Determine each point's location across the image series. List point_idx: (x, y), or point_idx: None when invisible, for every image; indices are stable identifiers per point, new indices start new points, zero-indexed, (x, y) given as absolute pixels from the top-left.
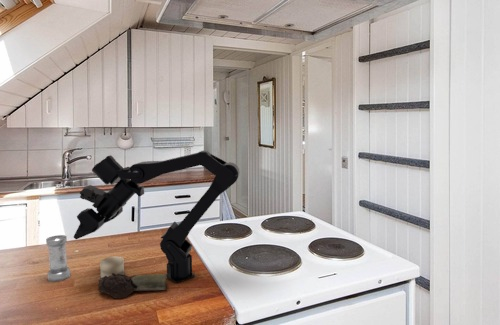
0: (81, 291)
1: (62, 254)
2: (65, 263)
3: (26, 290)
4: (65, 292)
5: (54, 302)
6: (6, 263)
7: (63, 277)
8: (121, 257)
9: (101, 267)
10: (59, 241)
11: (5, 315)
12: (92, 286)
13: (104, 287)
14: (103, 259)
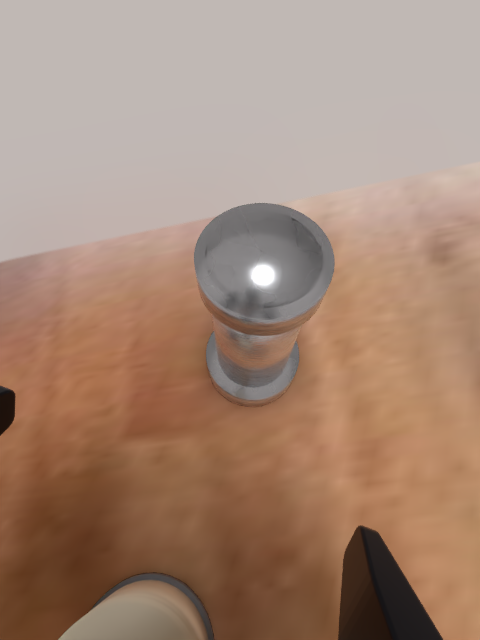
0: (44, 483)
1: (225, 342)
2: (240, 373)
3: (169, 277)
4: (74, 413)
5: (3, 386)
6: (444, 173)
7: (214, 383)
8: None
9: (94, 608)
10: (201, 287)
11: (5, 262)
12: (73, 534)
13: None
14: (170, 627)
